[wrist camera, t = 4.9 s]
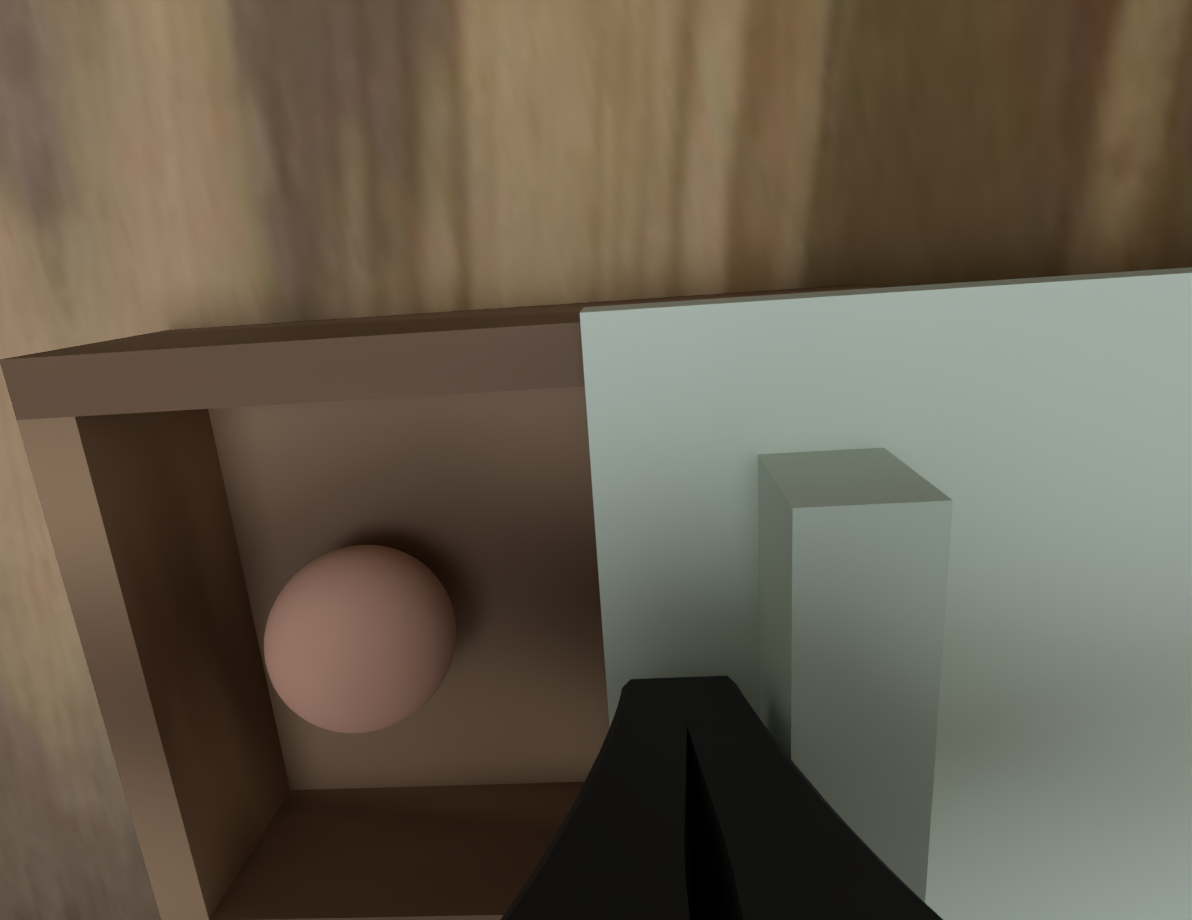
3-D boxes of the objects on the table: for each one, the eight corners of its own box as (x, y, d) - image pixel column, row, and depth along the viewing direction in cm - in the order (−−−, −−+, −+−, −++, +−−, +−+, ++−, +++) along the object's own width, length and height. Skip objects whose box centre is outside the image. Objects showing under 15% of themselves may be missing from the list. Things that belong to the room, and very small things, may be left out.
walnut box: (843, 786, 15) (909, 947, 12) (272, 802, 16) (172, 958, 12) (858, 284, 12) (950, 298, 9) (166, 330, 13) (-1, 360, 9)
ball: (481, 663, 14) (442, 772, 11) (325, 669, 14) (248, 778, 11) (462, 514, 13) (415, 590, 10) (298, 522, 13) (206, 599, 10)
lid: (1456, 968, 11) (1704, 1183, 8) (630, 979, 12) (632, 1181, 9) (1694, 234, 8) (2179, 227, 6) (583, 307, 9) (566, 330, 6)
